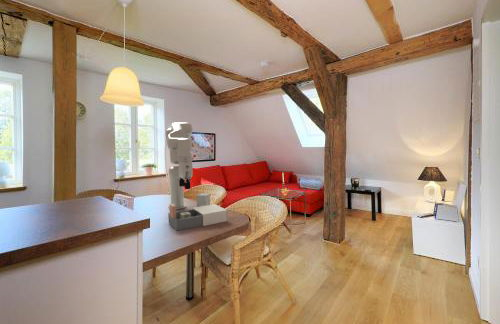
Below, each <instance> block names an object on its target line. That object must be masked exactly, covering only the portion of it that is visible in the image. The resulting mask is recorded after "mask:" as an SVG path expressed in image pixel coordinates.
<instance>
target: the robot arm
mask: <svg viewBox="0 0 500 324" xmlns="http://www.w3.org/2000/svg"><path fill="white" fill-rule="evenodd" d="M192 134H193V126H192V124H191V123H190V122H173V123H172V124H171V126H170V128H168V129H166V130H165V137H166V145H167V148H168V150H169V158H170V163H171V164H172V165H174V166H171V167H169V169H168V176H169V182H170V186H169V189H170V204H174V205H175V206H176V210H181V209H185V208H186V207H187V204H185V203H184V202H185V200H184V199H185V198H184V197H185V196H184V190H191V179H192V177H193V174H194V172H193V169H194V168H193V158H192V153H191V152H192V151H191V148H192V140H191V139H190V138H191V137H192ZM168 208H169V209H170V206H169V205H168Z"/></svg>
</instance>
